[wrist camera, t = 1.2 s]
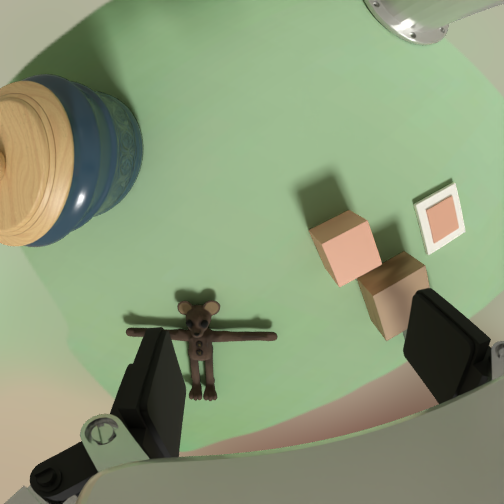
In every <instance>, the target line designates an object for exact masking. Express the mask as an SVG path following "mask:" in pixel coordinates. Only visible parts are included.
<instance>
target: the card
mask: <svg viewBox="0 0 504 504" xmlns="http://www.w3.org/2000/svg"><path fill="white" fill-rule="evenodd" d="M413 205H414V209H415V212H416V216H417V220H418V223H419V227H420V231H421V235H422V239H423V243H424V248H425V252H426V254H427V255H430V254H431V253H433V252H435V251H436V250H438V249H439V248H441V247H442V246H444V245H446V244H447V243H449V242H450V241H452V240H453V239H455V238H456V237H458V236H459V235H461V234H463V233H464V232H465V227H464V221H463V216H462V210H461V206H460V201H459V196H458V192H457V188H456V183H453V182H452V183H451V184H449V185H447V186H445V187H443V188H442V189H440V190H438V191H436V192H434V193H433V194H431V195H429V196H427V197H425V198H424V199H422V200H420V201H418V202H416V203H415V204H413Z"/></svg>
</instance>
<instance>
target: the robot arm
mask: <svg viewBox="0 0 504 504" xmlns="http://www.w3.org/2000/svg"><path fill="white" fill-rule="evenodd" d="M364 1H365V3H366V5H367V6H368V8H369V10H370V11H371V12H372V14H373V15H374V16H375V18H376V19H377V20H378V21H379V22H380V23H381V24H382V25H383V26H384V27H385V28H387V29H388V30H389V31H390V32H392V33H393V34H395V35H396V36H398V37H399V38H401V39H403V40H405V41H407V42H410V43H413V44H417V45H431V44H434V43H437V42H439V41H440V40H442V39H443V38H444V37H445V36H446V33H447V31H448V26H449V24H450V23H452V22H454V21H457V20H460V19H462V18H465V17H467V16H470V15H472V14H475V13H478V12H481V11H484V10H486V9H489V8H492V7H495V6H498V5H502V4H504V0H364ZM490 340H491V339H490V338H489V337H488V336H487V335H486V334H484V332H482V331H481V330H480V329H479V328H478V327H477V326H476V325H474V324H473V323H472V322H471V321H470V320H469V319H468V318H466V317H465V316H464V315H463V314H462V313H461V312H459V311H458V310H457V309H456V308H455V307H453V306H452V305H451V304H450V303H449V302H447V301H446V300H445V299H444V298H443V297H441V296H440V295H439V294H438V293H436V292H435V291H434V290H433V289H431V288H426V289H421V290H418V291H417V292H416V293H415V295H413V298H412V304H411V310H410V316H409V322H408V328H407V333H406V338H405V343H404V348H403V352H404V356H405V358H406V359H407V360H408V362H409V363H410V364H411V366H412V367H413V368H414V370H415V371H416V372H417V374H418V375H419V376H420V378H421V379H422V381H423V382H424V383H425V385H426V386H427V387H428V389H429V390H430V392H431V393H432V394H433V396H434V397H435V399H436V400H437V401H438V403H439V405H436V406H434V407H431V408H429V409H426V410H424V411H421V412H418V413H415V414H413V415H410V416H407V417H404V418H401V419H398V420H395V421H392V422H389V423H386V424H383V425H380V426H377V427H373V428H370V429H366V430H362V431H359V432H356V433H351V434H347V435H344V436H339V437H336V438H331V439H326V440H322V441H317V442H312V443H307V444H301V445H296V446H290V447H284V448H278V449H270V450H263V451H254V452H245V453H235V454H224V455H210V456H189V457H179V448H180V439H181V430H182V421H183V413H184V405H185V397H186V386H185V383H184V380H183V376H182V373H181V370H180V367H179V364H178V360H177V357H176V354H175V350H174V347H173V344H172V340H171V337H170V333H169V331H164V329H163V328H162V327H159V328H147V329H146V332H145V334H144V337H143V339H142V342H141V344H140V347H139V350H138V352H137V355H136V357H135V360H134V363H133V364H129V365H128V367H127V369H126V371H125V374H124V377H123V379H122V382H121V385H120V387H119V390H118V393H117V395H116V398H115V401H114V404H113V407H112V409H111V412H110V414H101V415H97V416H94V417H92V418H91V419H89V420H87V421H86V423H85V424H84V425H83V427H82V429H81V432H80V437H81V440H82V441H81V442H79V443H77V444H76V445H74V446H72V447H70V448H68V449H66V450H65V451H63V452H61V453H59V454H57V455H55V456H53V457H51V458H49V459H47V460H46V461H44V462H42V463H40V464H38V465H37V466H36V467H35V468H34V469H33V470H32V473H31V475H30V484H31V485H30V486H29V487H28V488H26V487H25V486H23V487H22V488H21V489H20V490H19V491H17V492H16V493H15V494H14V495H13V496H12V497H11V498H10V499H9V500H8V501H7V502H5V503H4V504H504V341H500V342H496V343H495V344H494V345H493V346H492V348H491V347H490V346H489V343H490Z"/></svg>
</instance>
